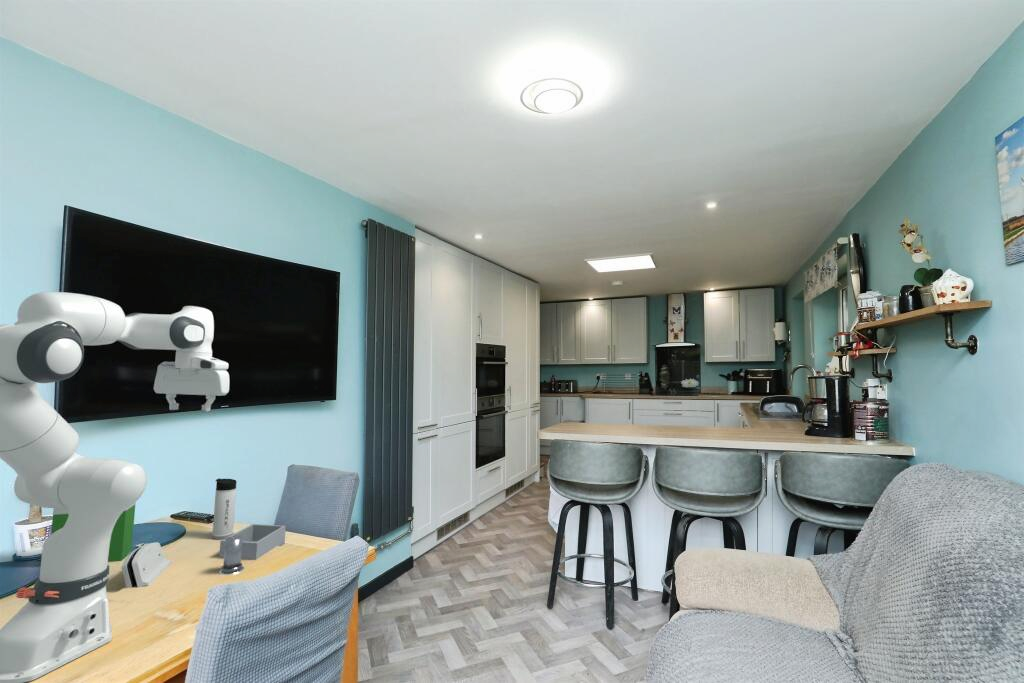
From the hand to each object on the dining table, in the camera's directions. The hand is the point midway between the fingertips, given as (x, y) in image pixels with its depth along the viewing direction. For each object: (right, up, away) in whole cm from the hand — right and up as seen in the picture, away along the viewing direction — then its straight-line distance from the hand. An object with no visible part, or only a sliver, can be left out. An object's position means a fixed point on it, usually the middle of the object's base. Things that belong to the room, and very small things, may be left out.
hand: (189, 410), depth 138 cm
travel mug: (-9, -49, +31) cm, 59 cm away
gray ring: (+11, -48, +1) cm, 49 cm away
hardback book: (-35, -47, +8) cm, 59 cm away
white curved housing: (-10, -47, -3) cm, 48 cm away
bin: (+9, -49, +18) cm, 53 cm away
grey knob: (+11, -47, +1) cm, 48 cm away
